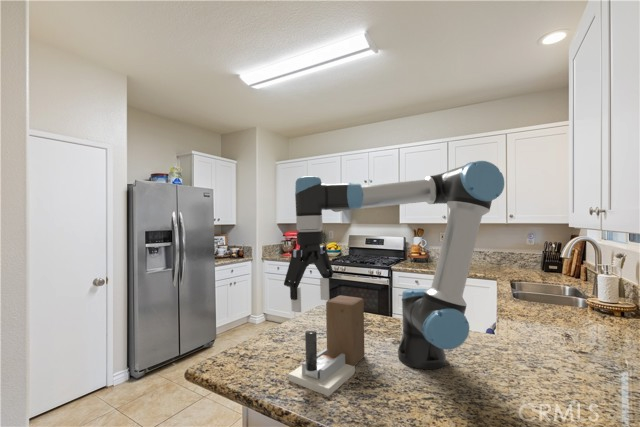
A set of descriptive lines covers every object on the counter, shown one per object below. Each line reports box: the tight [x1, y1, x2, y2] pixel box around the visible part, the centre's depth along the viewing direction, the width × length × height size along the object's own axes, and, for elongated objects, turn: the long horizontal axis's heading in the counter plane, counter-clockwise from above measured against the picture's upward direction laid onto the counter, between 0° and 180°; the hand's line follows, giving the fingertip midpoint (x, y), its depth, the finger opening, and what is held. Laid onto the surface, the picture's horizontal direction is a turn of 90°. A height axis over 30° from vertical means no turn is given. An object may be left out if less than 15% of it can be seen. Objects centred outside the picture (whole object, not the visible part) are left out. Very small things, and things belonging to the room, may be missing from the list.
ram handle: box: [304, 330, 335, 379], centre depth 87 cm, size 4×11×12 cm, turn 145°
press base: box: [288, 348, 356, 397], centre depth 88 cm, size 14×14×5 cm
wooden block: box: [325, 295, 366, 367], centre depth 100 cm, size 10×10×20 cm
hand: (311, 305), depth 84 cm, fingers open, 13 cm apart
